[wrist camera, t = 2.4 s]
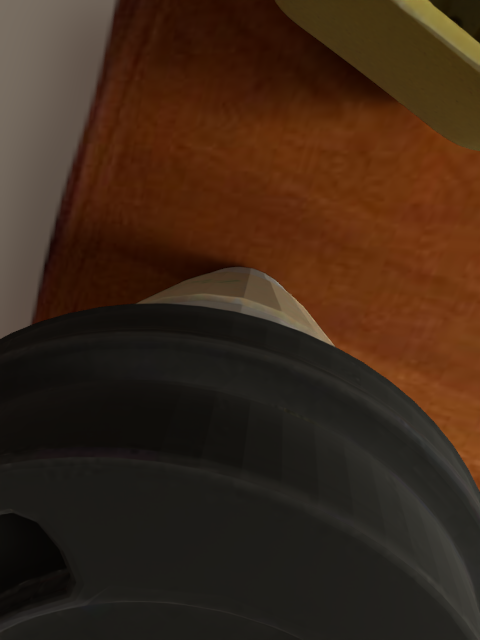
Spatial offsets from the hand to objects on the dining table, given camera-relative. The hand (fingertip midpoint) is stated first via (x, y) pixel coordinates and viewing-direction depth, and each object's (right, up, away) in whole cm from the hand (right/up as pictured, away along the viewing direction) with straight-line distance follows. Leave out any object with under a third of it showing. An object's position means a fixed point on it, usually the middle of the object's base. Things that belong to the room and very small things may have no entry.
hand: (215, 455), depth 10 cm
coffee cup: (+1, +3, +9) cm, 9 cm away
